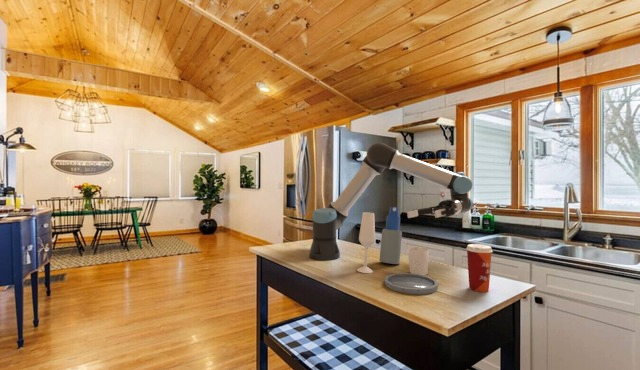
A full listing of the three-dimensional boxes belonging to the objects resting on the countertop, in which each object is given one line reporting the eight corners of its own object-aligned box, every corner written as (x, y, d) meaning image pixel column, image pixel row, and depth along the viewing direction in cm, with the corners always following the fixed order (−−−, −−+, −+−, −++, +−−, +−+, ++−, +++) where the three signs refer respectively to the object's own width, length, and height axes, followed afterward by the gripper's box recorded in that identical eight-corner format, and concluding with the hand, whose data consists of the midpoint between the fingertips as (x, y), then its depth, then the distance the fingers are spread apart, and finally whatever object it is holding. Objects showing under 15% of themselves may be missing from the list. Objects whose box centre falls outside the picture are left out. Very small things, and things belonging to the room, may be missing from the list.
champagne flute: (361, 267, 136) (364, 211, 136) (375, 270, 132) (379, 213, 132) (354, 270, 131) (357, 212, 130) (368, 274, 127) (372, 214, 126)
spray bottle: (400, 264, 138) (405, 207, 140) (379, 262, 140) (384, 205, 142) (398, 262, 147) (403, 208, 149) (379, 259, 148) (384, 206, 151)
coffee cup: (490, 295, 104) (490, 249, 104) (463, 290, 109) (463, 246, 109) (494, 288, 111) (494, 245, 110) (468, 283, 116) (469, 242, 115)
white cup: (430, 276, 124) (430, 251, 124) (409, 275, 126) (409, 250, 125) (427, 271, 132) (427, 247, 132) (407, 269, 133) (407, 246, 133)
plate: (377, 279, 120) (377, 275, 120) (419, 276, 124) (419, 271, 124) (400, 296, 102) (400, 291, 102) (448, 292, 107) (448, 286, 107)
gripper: (477, 215, 135) (449, 223, 123) (427, 216, 155) (399, 223, 143) (474, 198, 136) (447, 204, 123) (424, 201, 156) (396, 206, 143)
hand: (421, 214), depth 133 cm, fingers open, 13 cm apart
